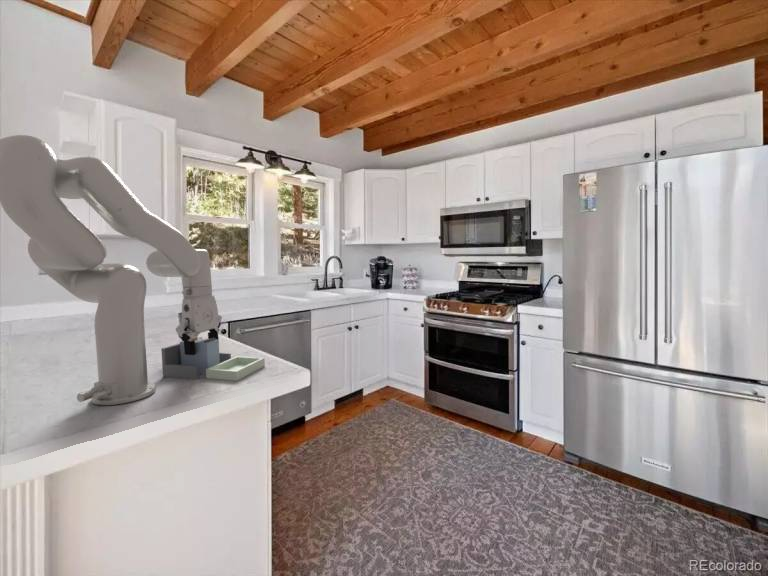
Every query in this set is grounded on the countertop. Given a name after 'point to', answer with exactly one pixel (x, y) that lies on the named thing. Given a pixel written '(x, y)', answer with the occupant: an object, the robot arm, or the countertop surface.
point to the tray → (235, 368)
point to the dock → (173, 363)
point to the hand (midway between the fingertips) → (202, 349)
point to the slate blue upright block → (202, 354)
